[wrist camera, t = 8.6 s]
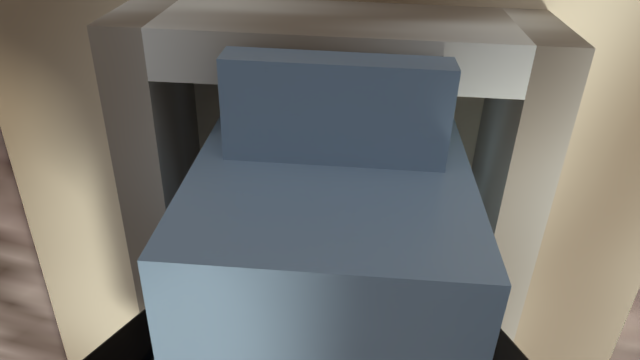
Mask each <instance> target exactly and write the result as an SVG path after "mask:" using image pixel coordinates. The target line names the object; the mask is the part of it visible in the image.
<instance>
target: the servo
mask: <svg viewBox="0 0 640 360" xmlns="http://www.w3.org/2000/svg"><path fill="white" fill-rule="evenodd" d="M216 62H217V77H218V91H219V106H220V117H219V119H218V121H217V122H216V124H215V126H214V128H213V129H212V131H211V133H210V135H209V136H208V138H207V140H206V141H205V143H204V145H203V147H202V148H201V150H200V152H199V154H198V155H197V157H196V159H195V161H194V162H193V164H192V166H191V168H190V169H189V171H188V173H187V175H186V176H185V178H184V180H183V182H182V183H181V185H180V187H179V189H178V190H177V192H176V194H175V195H174V197H173V199H172V201H171V202H170V204H169V206H168V208H167V209H166V211H165V213H164V215H163V216H162V218H161V220H160V222H159V223H158V225H157V227H156V229H155V230H154V232H153V234H152V236H151V237H150V239H149V241H148V243H147V244H146V246H145V248H144V250H143V251H142V253H141V255H140V256H139V258H138V260H137V263H138V269H139V274H140V280H141V286H142V292H143V297H144V303H145V309H146V315H147V320H148V326H149V332H150V338H151V343H152V349H153V355H154V360H493V356H494V352H495V348H496V344H497V340H498V337H499V333H500V329H501V325H502V321H503V317H504V314H505V310H506V306H507V302H508V298H509V294H510V291H511V287H512V286H511V283H510V280H509V277H508V274H507V271H506V268H505V265H504V262H503V260H502V257H501V254H500V251H499V248H498V245H497V242H496V239H495V236H494V233H493V230H492V227H491V224H490V222H489V219H488V216H487V213H486V210H485V207H484V204H483V201H482V198H481V195H480V192H479V189H478V187H477V184H476V181H475V178H474V175H473V172H472V169H471V166H470V163H469V160H468V157H467V154H466V152H465V149H464V146H463V143H462V140H461V137H460V134H459V131H458V128H457V125H456V122H455V119H454V113H455V107H456V101H457V95H458V88H459V82H460V76H461V70H460V67H459V65H458V63H457V61H456V59H455V57H443V56H423V55H402V54H382V53H361V52H340V51H320V50H299V49H279V48H258V47H238V46H226V47H225V48H224V50H223V51H222V52H221V54H220V55H219V56H218V57H217V59H216Z"/></svg>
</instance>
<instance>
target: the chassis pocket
mask: <svg viewBox="0 0 640 360" xmlns="http://www.w3.org/2000/svg"><path fill="white" fill-rule="evenodd" d="M226 46H238V47H258V48H279V49H299V50H320V51H340V52H361V53H382V54H402V55H423V56H443V57H455V59H456V61H457V63H458V65H459V67H460V70H461V76H460V82H459V88H458V95H457V101H456V107H455V113H454V119H455V122H456V125H457V128H458V131H459V134H460V137H461V140H462V143H463V146H464V149H465V152H466V154H467V157H468V160H469V163H470V166H471V169H472V172H473V175H474V178H475V181H476V184H477V187H478V189H479V192H480V195H481V198H482V201H483V204H484V207H485V210H486V213H487V216H488V219H489V222H490V224H491V227H492V230H493V233H494V236H495V239H496V242H497V245H498V248H499V251H500V254H501V257H502V260H503V262H504V265H505V268H506V271H507V274H508V277H509V280H510V283H511V286H512V287H511V291H510V294H509V298H508V302H507V306H506V310H505V314H504V317H503V321H502V325H501V329H502V330H503V331H504V332H505V333H506V334H507V335H508V336H509V338H510V339H511V340H512V341H513V342H514V343H515V344H516V345H517V347H518V348H519V349H520V350H521V351H522V352H523V353H524V354H525V356H526V357H527V358H528V359H529V360H610V358H611V355H612V353H613V351H614V348H615V346H616V343H617V341H618V338H619V336H620V334H621V331H622V329H623V326H624V324H625V321H626V319H627V316H628V314H629V312H630V309H631V307H632V304H633V302H634V299H635V297H636V295H637V292H638V290H639V287H640V0H0V127H1V130H2V134H3V137H4V141H5V144H6V148H7V151H8V155H9V158H10V162H11V165H12V169H13V172H14V175H15V179H16V182H17V186H18V189H19V193H20V196H21V200H22V203H23V207H24V210H25V214H26V217H27V221H28V224H29V227H30V231H31V234H32V238H33V241H34V245H35V248H36V252H37V255H38V259H39V262H40V266H41V269H42V272H43V276H44V279H45V283H46V286H47V290H48V293H49V297H50V300H51V304H52V307H53V311H54V314H55V318H56V321H57V324H58V328H59V331H60V335H61V338H62V342H63V345H64V349H65V352H66V356H67V359H68V360H82V359H84V358H85V357H86V356H87V355H89V354H90V353H91V352H92V351H93V350H95V349H96V348H97V347H98V346H100V345H101V344H102V343H103V342H104V341H106V340H107V339H108V338H109V337H111V336H112V335H113V334H114V333H115V332H117V331H118V330H119V329H120V328H122V327H123V326H124V325H125V324H126V323H128V322H129V321H130V320H131V319H133V318H134V317H135V316H136V315H137V314H139V313H140V312H141V311H142V310H144V309H145V303H144V297H143V292H142V286H141V280H140V274H139V269H138V263H137V260H138V258H139V256H140V255H141V253H142V251H143V250H144V248H145V246H146V244H147V243H148V241H149V239H150V237H151V236H152V234H153V232H154V230H155V229H156V227H157V225H158V223H159V222H160V220H161V218H162V216H163V215H164V213H165V211H166V209H167V208H168V206H169V204H170V202H171V201H172V199H173V197H174V195H175V194H176V192H177V190H178V189H179V187H180V185H181V183H182V182H183V180H184V178H185V176H186V175H187V173H188V171H189V169H190V168H191V166H192V164H193V162H194V161H195V159H196V157H197V155H198V154H199V152H200V150H201V148H202V147H203V145H204V143H205V141H206V140H207V138H208V136H209V135H210V133H211V131H212V129H213V128H214V126H215V124H216V122H217V121H218V119H219V117H220V106H219V91H218V77H217V62H216V59H217V57H218V56H219V55H220V54H221V52H222V51H223V50H224V48H225V47H226Z"/></svg>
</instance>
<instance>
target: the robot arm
mask: <svg viewBox="0 0 640 360" xmlns="http://www.w3.org/2000/svg"><path fill="white" fill-rule="evenodd" d="M82 360H154V355H153V349H152V343H151V338H150V332H149V326H148V320H147V315H146V309H144V310H142V311H141V312H140V313H139V314H137V315H136V316H135V317H134V318H133V319H131V320H130V321H129V322H128V323H126V324H125V325H124V326H123V327H122V328H120V329H119V330H118V331H117V332H115V333H114V334H113V335H112V336H111V337H109V338H108V339H107V340H106V341H104V342H103V343H102V344H101V345H100V346H98V347H97V348H96V349H95V350H93V351H92V352H91V353H90V354H89V355H87V356H86V357H85V358H84V359H82ZM493 360H529V359H528V358H527V357H526V356H525V354H524V353H523V352H522V351H521V350H520V349H519V348H518V347H517V345H516V344H515V343H514V342H513V341H512V340H511V339H510V338H509V336H508V335H507V334H506V333H505V332H504V331H503V330H502V329H500V333H499V337H498V340H497V344H496V348H495V352H494V356H493Z"/></svg>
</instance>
